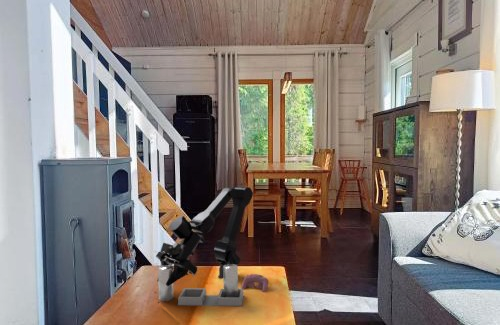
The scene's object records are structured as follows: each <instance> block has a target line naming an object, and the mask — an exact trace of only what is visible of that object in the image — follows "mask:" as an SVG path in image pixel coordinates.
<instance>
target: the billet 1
mask: <svg viewBox="0 0 500 325" xmlns="http://www.w3.org/2000/svg"><path fill="white" fill-rule="evenodd" d="M157 270H158V272H157V274H158V277H157V280H158V279H159V282H158V300H159V301H161V302H168V301H172V300H173V299H174V283H172V284H171V285H169V286H167V285H166V283H167V281H168V279H169V277H170V276H171V274H172V272H173V270H174V265H164V266H161V265H160V266H158V269H157ZM161 302H159V304H161Z"/></svg>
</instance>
